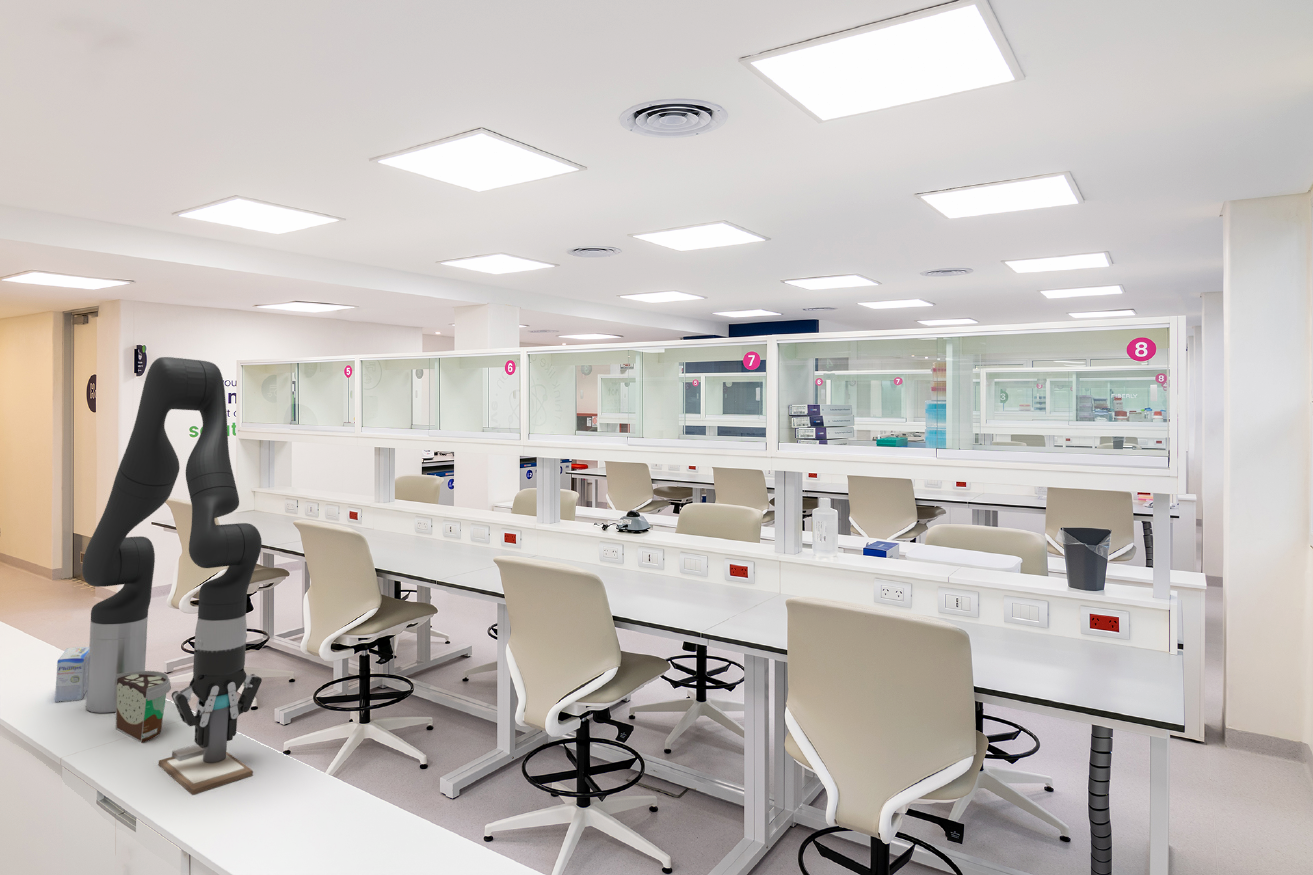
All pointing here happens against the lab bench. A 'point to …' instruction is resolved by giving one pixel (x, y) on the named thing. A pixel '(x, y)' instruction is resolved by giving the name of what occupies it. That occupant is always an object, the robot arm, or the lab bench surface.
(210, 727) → the marker
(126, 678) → the food container
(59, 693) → the medicine box
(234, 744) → the lab bench surface
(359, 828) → the lab bench surface
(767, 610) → the lab bench surface
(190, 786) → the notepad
